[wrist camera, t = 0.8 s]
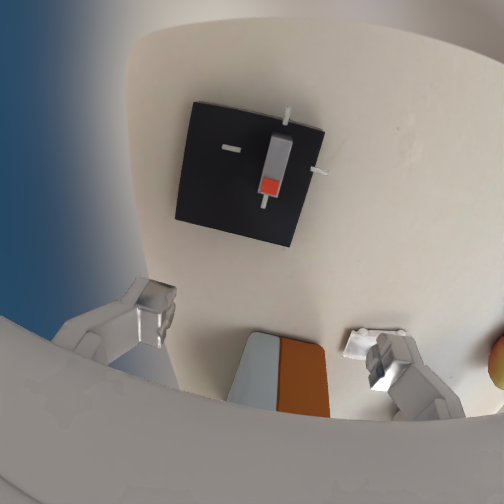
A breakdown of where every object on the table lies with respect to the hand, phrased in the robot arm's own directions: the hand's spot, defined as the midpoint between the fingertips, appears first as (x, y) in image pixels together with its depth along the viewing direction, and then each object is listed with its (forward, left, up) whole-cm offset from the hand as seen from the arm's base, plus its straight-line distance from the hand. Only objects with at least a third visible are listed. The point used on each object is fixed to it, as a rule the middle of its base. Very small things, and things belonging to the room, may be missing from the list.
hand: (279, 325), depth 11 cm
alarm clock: (+25, +5, -16) cm, 30 cm away
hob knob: (-3, -1, -14) cm, 14 cm away
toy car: (+14, +16, -16) cm, 27 cm away
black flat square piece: (-1, -3, -16) cm, 16 cm away
